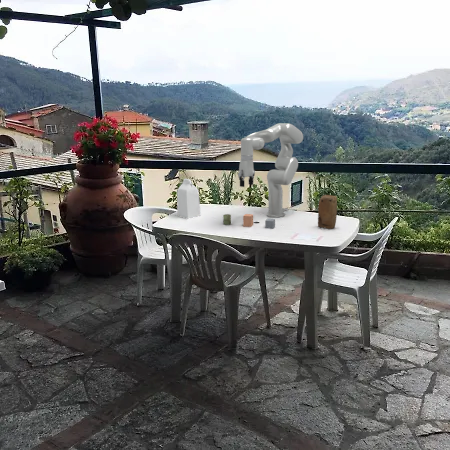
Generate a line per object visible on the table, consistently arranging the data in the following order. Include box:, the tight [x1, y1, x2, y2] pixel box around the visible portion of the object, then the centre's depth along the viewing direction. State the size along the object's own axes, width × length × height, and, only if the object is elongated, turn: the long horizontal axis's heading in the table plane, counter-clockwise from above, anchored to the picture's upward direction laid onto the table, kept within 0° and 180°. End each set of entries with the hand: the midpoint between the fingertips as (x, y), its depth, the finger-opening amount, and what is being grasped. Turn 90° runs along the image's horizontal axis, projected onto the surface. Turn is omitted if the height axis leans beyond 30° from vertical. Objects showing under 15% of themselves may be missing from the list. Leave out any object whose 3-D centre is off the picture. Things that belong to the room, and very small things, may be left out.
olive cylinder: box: [222, 213, 232, 226], centre depth 293 cm, size 5×5×6 cm
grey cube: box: [264, 218, 276, 230], centre depth 283 cm, size 5×5×5 cm
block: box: [317, 194, 338, 230], centre depth 277 cm, size 11×8×20 cm
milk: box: [176, 178, 202, 220], centre depth 313 cm, size 12×12×26 cm
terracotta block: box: [242, 213, 254, 228], centre depth 287 cm, size 5×5×7 cm
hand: (246, 185), depth 284 cm, fingers open, 9 cm apart
